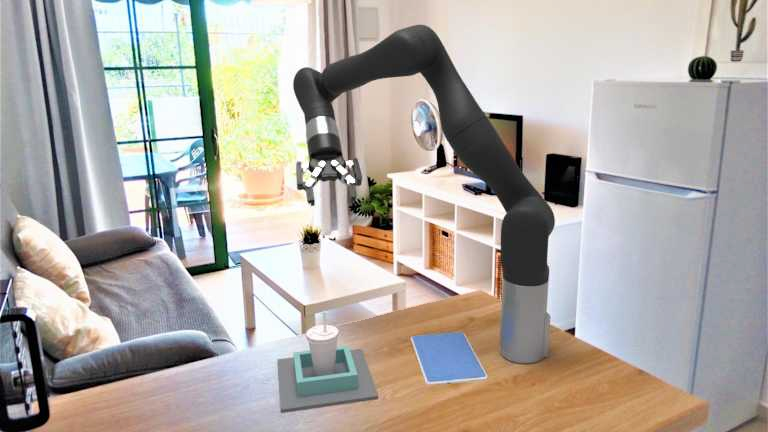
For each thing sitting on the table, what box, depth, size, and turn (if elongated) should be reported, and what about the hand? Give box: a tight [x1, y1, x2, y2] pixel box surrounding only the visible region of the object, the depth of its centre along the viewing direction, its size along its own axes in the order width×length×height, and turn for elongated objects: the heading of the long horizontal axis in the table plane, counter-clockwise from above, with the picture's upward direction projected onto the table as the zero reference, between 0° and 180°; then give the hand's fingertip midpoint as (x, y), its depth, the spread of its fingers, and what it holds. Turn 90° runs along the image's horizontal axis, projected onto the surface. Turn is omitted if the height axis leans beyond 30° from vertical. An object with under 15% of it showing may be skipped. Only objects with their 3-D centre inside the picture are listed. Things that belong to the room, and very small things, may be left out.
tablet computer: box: [410, 331, 489, 386], centre depth 121 cm, size 19×13×1 cm, turn 7°
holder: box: [277, 345, 379, 413], centre depth 114 cm, size 18×18×4 cm
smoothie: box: [305, 310, 340, 377], centre depth 112 cm, size 6×6×14 cm
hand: (332, 202), depth 123 cm, fingers open, 8 cm apart
